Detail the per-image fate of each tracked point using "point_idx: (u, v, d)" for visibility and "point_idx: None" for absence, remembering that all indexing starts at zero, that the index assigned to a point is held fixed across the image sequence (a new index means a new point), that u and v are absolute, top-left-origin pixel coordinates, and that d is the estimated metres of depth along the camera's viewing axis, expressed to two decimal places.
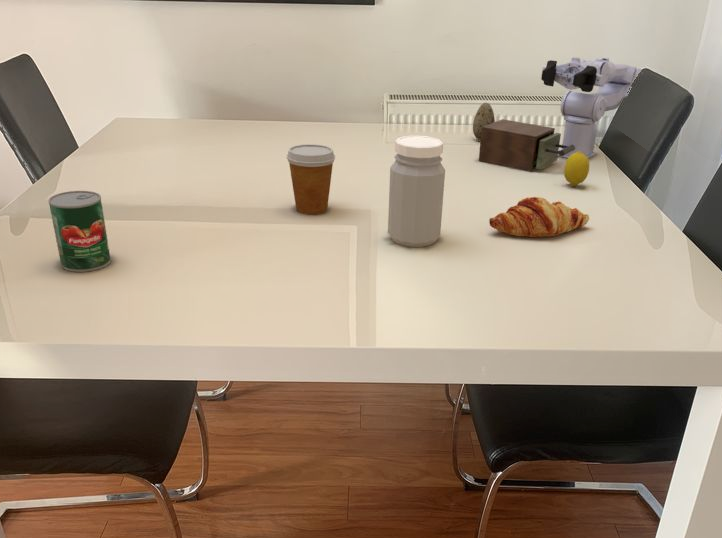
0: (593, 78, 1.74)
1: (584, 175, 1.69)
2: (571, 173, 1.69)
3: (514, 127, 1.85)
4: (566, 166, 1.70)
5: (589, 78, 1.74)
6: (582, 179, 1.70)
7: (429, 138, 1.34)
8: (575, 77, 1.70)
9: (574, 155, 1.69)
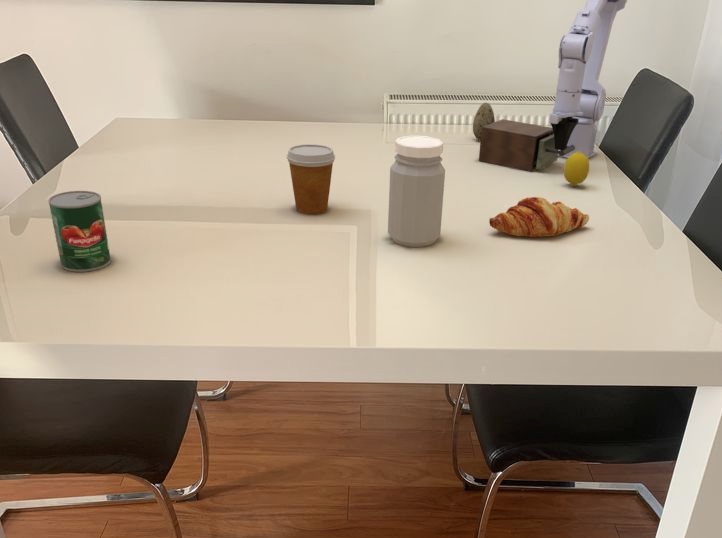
0: None
1: (584, 175, 1.69)
2: (571, 173, 1.69)
3: (514, 127, 1.85)
4: (566, 166, 1.70)
5: None
6: (582, 179, 1.70)
7: (429, 138, 1.34)
8: None
9: (574, 155, 1.69)
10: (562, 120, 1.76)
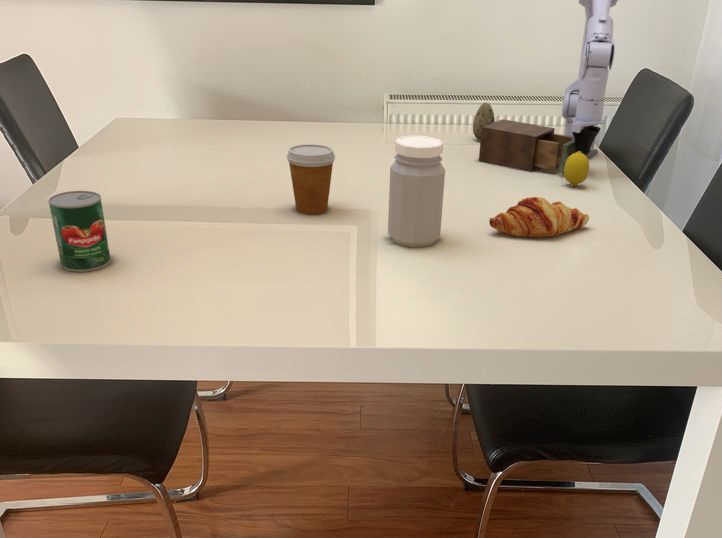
0: None
1: (584, 175, 1.69)
2: (571, 173, 1.69)
3: (514, 127, 1.85)
4: (566, 166, 1.70)
5: None
6: (582, 179, 1.70)
7: (429, 138, 1.34)
8: None
9: (574, 155, 1.69)
10: (584, 129, 1.74)
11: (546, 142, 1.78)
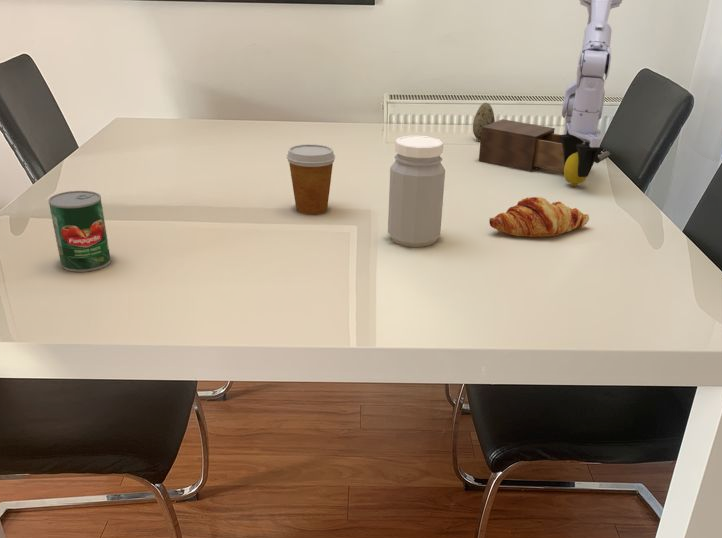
0: None
1: None
2: (571, 173, 1.69)
3: (514, 127, 1.85)
4: (566, 166, 1.70)
5: None
6: (582, 179, 1.70)
7: (429, 138, 1.34)
8: None
9: (574, 155, 1.69)
10: None
11: (558, 144, 1.77)
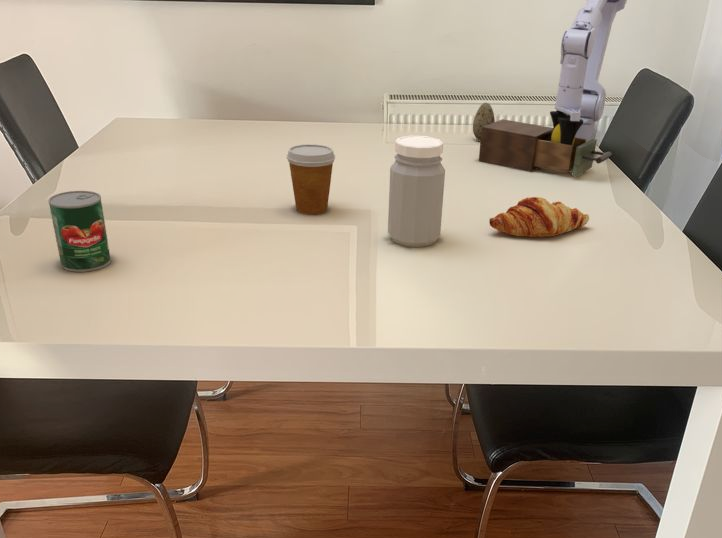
0: None
1: None
2: (556, 141, 1.79)
3: (514, 127, 1.85)
4: (552, 135, 1.79)
5: None
6: None
7: (429, 138, 1.34)
8: None
9: None
10: None
11: (559, 144, 1.77)
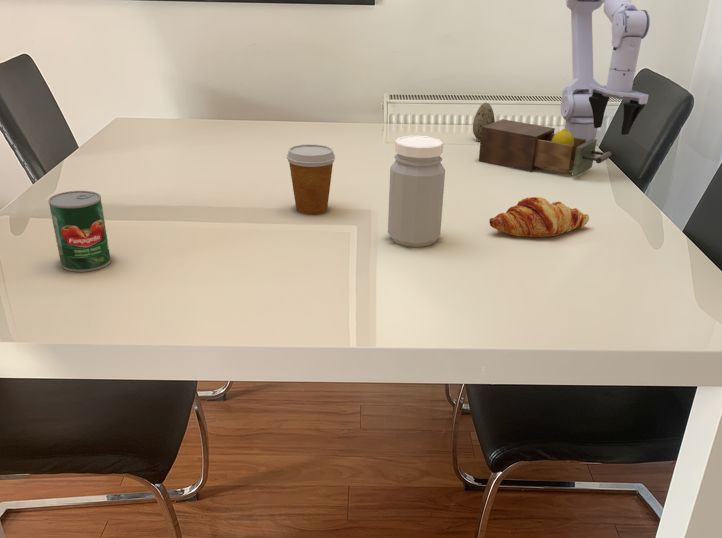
0: None
1: None
2: None
3: (514, 127, 1.85)
4: None
5: None
6: None
7: (429, 138, 1.34)
8: None
9: (559, 132, 1.79)
10: None
11: (559, 144, 1.77)
